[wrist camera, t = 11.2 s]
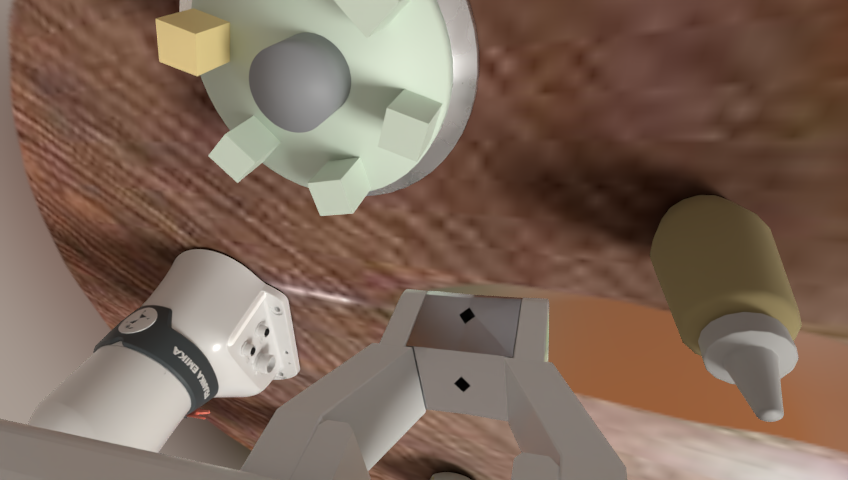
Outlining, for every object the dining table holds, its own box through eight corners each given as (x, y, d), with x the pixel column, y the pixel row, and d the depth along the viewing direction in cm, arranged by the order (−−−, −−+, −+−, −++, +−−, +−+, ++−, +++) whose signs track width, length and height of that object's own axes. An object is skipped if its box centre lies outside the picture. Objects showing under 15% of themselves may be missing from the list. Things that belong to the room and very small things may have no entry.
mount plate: (488, 191, 41) (484, 207, 39) (258, 190, 48) (243, 203, 46) (464, -160, 28) (454, -165, 26) (152, -91, 35) (123, -91, 33)
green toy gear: (494, -32, 30) (477, -19, 25) (414, 214, 43) (393, 253, 38) (205, -138, 31) (135, -145, 26) (211, 134, 44) (165, 162, 39)
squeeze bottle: (755, 260, 38) (857, 466, 24) (647, 267, 41) (682, 455, 27) (761, 172, 34) (887, 359, 20) (641, 188, 37) (678, 360, 23)
